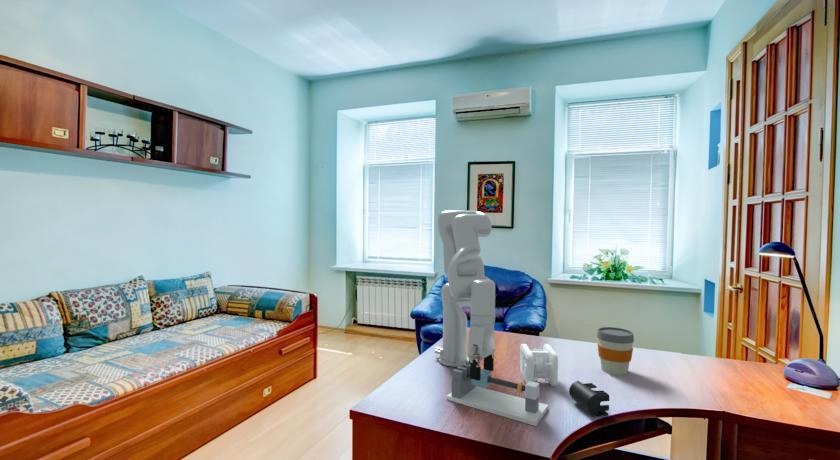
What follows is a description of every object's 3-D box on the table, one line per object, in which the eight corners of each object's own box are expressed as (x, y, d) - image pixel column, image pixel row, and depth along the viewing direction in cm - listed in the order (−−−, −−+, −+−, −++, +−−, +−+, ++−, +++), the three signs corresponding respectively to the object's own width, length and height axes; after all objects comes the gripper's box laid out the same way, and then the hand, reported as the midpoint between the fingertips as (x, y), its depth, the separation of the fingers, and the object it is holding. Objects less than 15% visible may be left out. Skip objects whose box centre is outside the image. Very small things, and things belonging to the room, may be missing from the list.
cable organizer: (558, 391, 131) (559, 356, 131) (526, 389, 132) (526, 355, 131) (547, 373, 146) (548, 342, 146) (518, 372, 147) (518, 341, 146)
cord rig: (446, 399, 123) (446, 370, 123) (464, 386, 133) (464, 359, 133) (535, 426, 108) (536, 392, 108) (548, 409, 118) (548, 378, 118)
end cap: (568, 402, 123) (568, 381, 122) (589, 401, 124) (589, 379, 124) (587, 418, 113) (588, 395, 113) (610, 416, 114) (610, 393, 114)
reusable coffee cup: (596, 373, 146) (597, 333, 146) (595, 362, 158) (596, 325, 158) (635, 379, 142) (636, 337, 141) (631, 367, 153) (632, 329, 153)
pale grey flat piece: (566, 361, 161) (566, 358, 161) (514, 367, 155) (514, 364, 155) (533, 343, 185) (533, 340, 185) (487, 347, 179) (487, 345, 179)
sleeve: (471, 384, 123) (471, 371, 123) (476, 380, 126) (477, 367, 126) (486, 388, 120) (486, 375, 120) (491, 383, 124) (491, 371, 124)
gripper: (483, 313, 132) (482, 364, 132) (458, 323, 118) (458, 380, 118) (504, 316, 128) (504, 369, 128) (482, 326, 113) (481, 386, 113)
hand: (482, 374), depth 123 cm, fingers open, 9 cm apart
